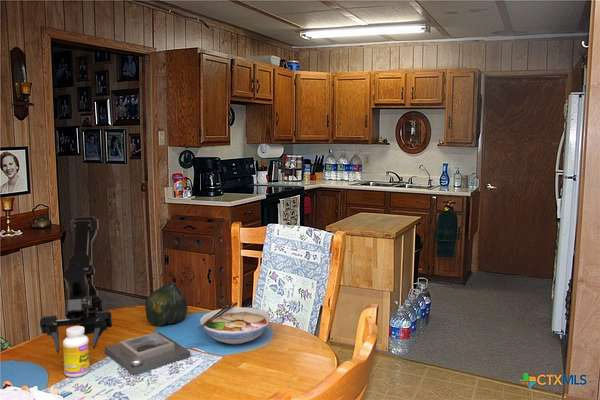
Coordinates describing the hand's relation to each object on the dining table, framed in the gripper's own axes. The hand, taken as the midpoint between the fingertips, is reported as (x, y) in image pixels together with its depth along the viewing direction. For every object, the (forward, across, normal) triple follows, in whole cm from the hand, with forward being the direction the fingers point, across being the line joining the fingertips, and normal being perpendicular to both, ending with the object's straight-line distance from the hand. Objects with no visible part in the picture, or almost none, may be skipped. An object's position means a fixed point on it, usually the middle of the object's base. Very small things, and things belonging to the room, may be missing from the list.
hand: (75, 350), depth 147 cm
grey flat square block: (0, +19, +10) cm, 22 cm away
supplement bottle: (+4, 0, +6) cm, 7 cm away
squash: (-20, +26, +30) cm, 44 cm away
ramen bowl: (-3, +47, +14) cm, 49 cm away
